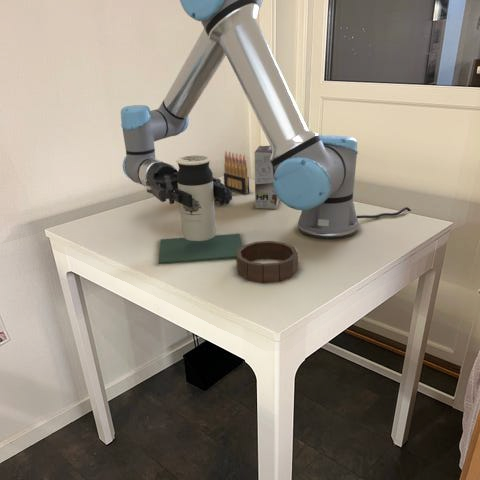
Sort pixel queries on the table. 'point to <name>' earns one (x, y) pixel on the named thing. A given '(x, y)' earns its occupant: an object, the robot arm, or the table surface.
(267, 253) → the holder
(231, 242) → the mat
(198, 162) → the travel mug
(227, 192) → the fruit
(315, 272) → the table surface
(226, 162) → the ammunition clip
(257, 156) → the coffee box
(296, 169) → the robot arm
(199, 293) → the table surface
